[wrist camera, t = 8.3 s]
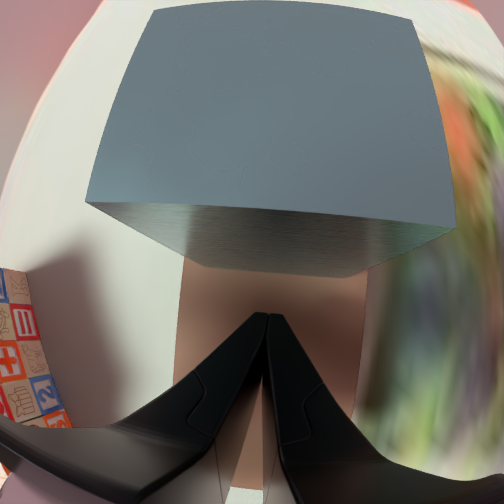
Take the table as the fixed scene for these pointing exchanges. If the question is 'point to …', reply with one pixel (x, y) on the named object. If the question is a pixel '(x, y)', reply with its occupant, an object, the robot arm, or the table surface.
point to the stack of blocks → (24, 363)
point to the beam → (297, 315)
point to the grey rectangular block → (277, 139)
